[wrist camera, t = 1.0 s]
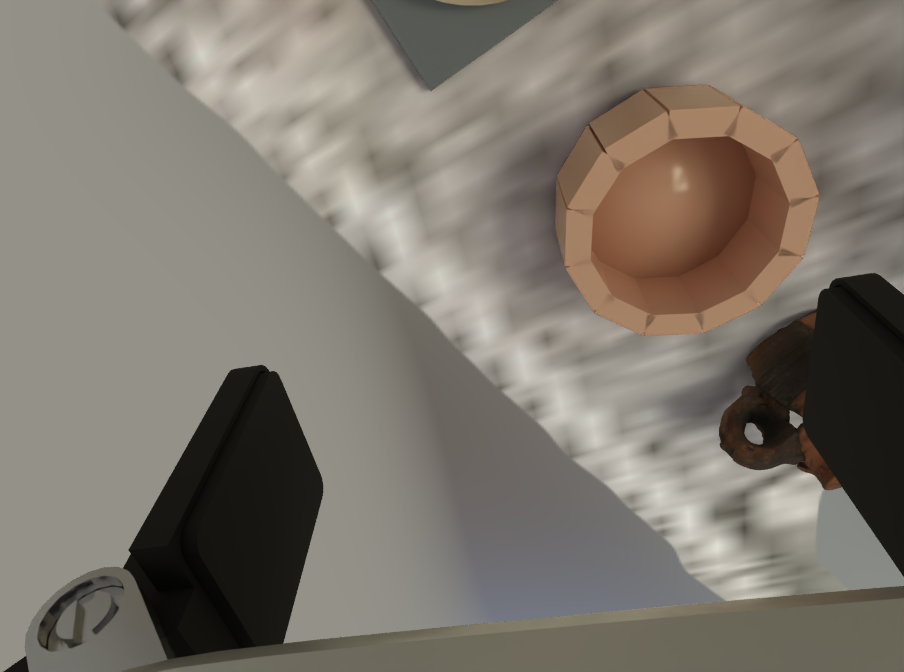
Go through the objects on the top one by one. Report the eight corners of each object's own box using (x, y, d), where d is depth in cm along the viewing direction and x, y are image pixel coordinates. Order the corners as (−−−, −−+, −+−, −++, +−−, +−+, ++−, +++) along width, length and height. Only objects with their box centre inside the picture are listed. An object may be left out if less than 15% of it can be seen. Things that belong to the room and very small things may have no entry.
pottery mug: (880, 272, 35) (1003, 389, 30) (834, 352, 43) (927, 455, 38) (687, 362, 35) (780, 492, 31) (677, 426, 43) (750, 537, 38)
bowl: (722, 35, 28) (765, 51, 24) (799, 224, 33) (846, 265, 29) (516, 165, 32) (521, 199, 28) (611, 319, 37) (628, 368, 32)
